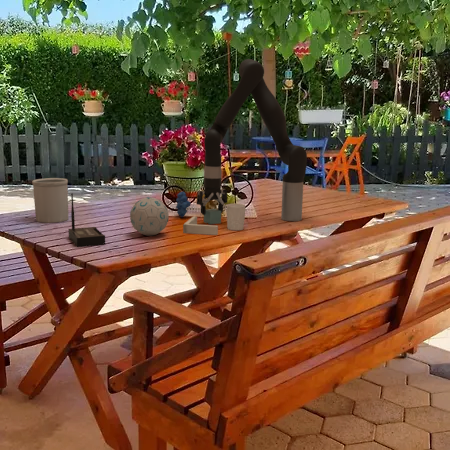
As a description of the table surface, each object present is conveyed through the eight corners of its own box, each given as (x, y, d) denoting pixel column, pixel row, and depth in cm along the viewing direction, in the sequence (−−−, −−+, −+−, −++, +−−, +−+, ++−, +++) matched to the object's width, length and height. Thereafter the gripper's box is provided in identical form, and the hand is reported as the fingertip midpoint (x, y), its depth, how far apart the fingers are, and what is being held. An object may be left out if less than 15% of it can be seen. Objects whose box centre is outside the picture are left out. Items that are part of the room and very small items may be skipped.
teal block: (203, 222, 270) (203, 209, 269) (214, 221, 273) (214, 208, 272) (210, 224, 266) (210, 212, 265) (221, 223, 269) (221, 210, 268)
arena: (193, 224, 266) (193, 216, 265) (225, 226, 263) (225, 218, 262) (183, 233, 250) (183, 224, 249) (217, 235, 247) (217, 226, 246)
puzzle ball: (150, 228, 256) (149, 193, 253) (176, 234, 247) (176, 197, 243) (122, 235, 245) (121, 197, 241) (149, 241, 235) (148, 202, 232)
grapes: (194, 219, 276) (194, 192, 273) (180, 220, 274) (180, 193, 271) (187, 214, 287) (187, 188, 284) (173, 214, 284) (173, 189, 282)
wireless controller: (110, 245, 230) (108, 200, 227) (72, 248, 225) (70, 202, 221) (97, 233, 248) (96, 191, 244) (62, 236, 242) (60, 193, 239)
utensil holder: (26, 221, 267) (24, 180, 264) (51, 215, 280) (49, 176, 276) (52, 224, 261) (50, 183, 257) (76, 218, 274) (75, 179, 270)
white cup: (223, 227, 261) (223, 204, 259) (240, 226, 264) (241, 203, 261) (230, 231, 254) (230, 207, 251) (247, 230, 256) (248, 206, 254)
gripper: (203, 178, 258) (202, 216, 261) (231, 176, 266) (230, 213, 269) (194, 176, 264) (193, 213, 267) (221, 174, 272) (220, 210, 275)
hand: (211, 213), depth 268 cm, fingers open, 8 cm apart
